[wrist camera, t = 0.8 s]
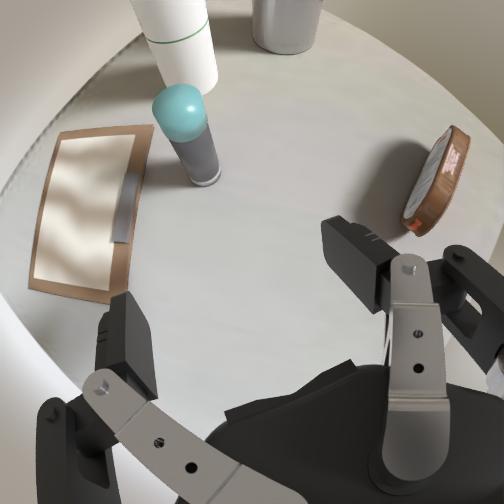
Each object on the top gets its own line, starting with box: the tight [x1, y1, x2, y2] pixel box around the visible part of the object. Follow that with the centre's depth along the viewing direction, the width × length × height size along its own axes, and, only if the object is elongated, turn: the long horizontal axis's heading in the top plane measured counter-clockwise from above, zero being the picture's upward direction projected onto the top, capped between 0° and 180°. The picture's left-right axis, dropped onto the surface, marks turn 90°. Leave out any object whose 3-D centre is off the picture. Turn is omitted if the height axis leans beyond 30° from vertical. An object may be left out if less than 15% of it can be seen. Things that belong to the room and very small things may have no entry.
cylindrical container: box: [130, 0, 218, 96], centre depth 23 cm, size 7×7×25 cm
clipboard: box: [29, 124, 154, 304], centre depth 33 cm, size 22×15×2 cm
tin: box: [401, 125, 471, 237], centre depth 29 cm, size 15×3×8 cm, turn 146°
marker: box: [152, 84, 221, 187], centre depth 27 cm, size 4×4×14 cm
